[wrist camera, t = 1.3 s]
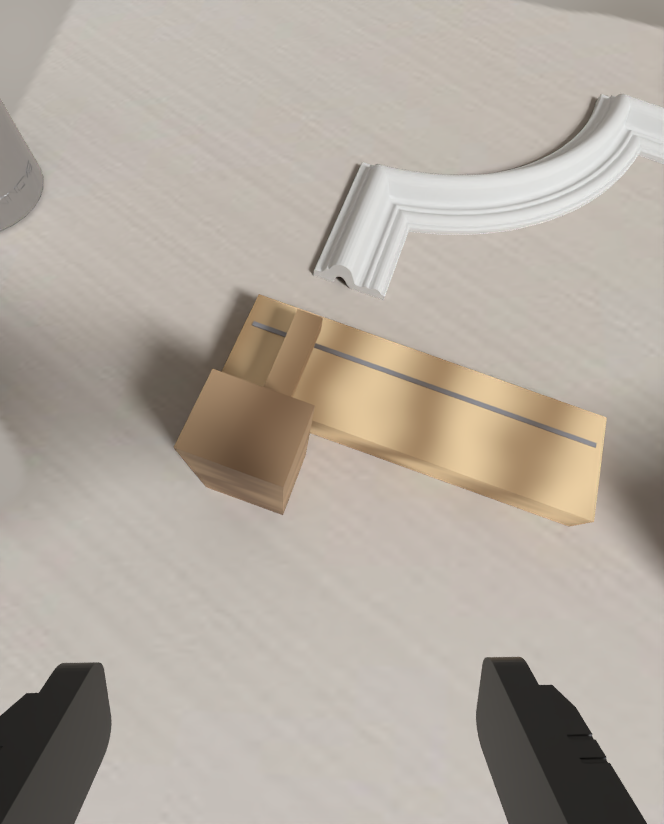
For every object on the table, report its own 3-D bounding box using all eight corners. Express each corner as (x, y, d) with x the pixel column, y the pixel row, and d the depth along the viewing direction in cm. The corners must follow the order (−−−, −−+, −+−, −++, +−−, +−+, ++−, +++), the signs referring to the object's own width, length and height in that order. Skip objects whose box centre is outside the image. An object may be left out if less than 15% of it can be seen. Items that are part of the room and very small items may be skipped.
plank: (220, 400, 30) (214, 384, 27) (260, 314, 32) (258, 293, 30) (569, 526, 29) (594, 521, 27) (582, 429, 32) (607, 417, 29)
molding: (336, 323, 34) (340, 301, 31) (270, 200, 37) (269, 170, 34) (731, 174, 44) (761, 148, 41) (654, 87, 47) (677, 57, 44)
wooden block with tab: (206, 487, 28) (173, 447, 20) (272, 339, 32) (269, 253, 23) (282, 515, 28) (283, 487, 19) (340, 363, 32) (361, 285, 23)
